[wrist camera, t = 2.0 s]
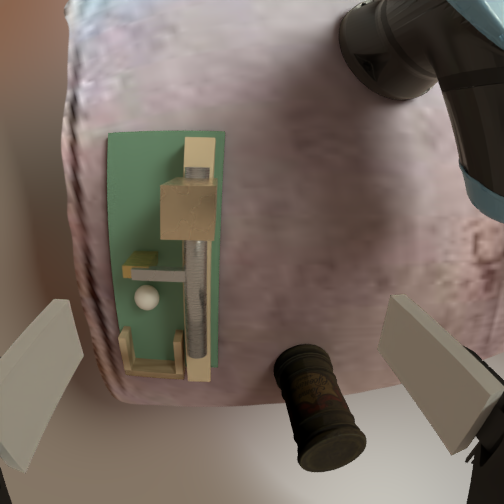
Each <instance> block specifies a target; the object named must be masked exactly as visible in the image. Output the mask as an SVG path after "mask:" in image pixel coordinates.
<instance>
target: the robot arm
mask: <svg viewBox="0 0 504 504" xmlns="http://www.w3.org/2000/svg"><path fill="white" fill-rule="evenodd" d="M339 42H340V47H341V51H342V54H343V56H344V58H345V61H346V62H347V64H348V66H349V67H350V69H351V70H352V72H353V73H354V74H355V76H356V77H357V78H358V79H359V80H360V81H361V82H362V83H363V84H364V85H366V86H367V87H368V88H370V89H371V90H372V91H374V92H376V93H378V94H379V95H382V96H384V97H387V98H390V99H396V100H406V99H411V98H415V97H419V96H421V95H423V94H425V93H427V92H428V91H429V90H430V89H431V88H432V87H433V86H434V85H435V84H436V83H437V82H439V85H440V88H441V91H442V95H443V98H444V101H445V104H446V107H447V111H448V114H449V117H450V121H451V125H452V128H453V132H454V136H455V140H456V145H457V149H458V154H459V167H460V169H461V171H462V173H463V177H464V181H465V186H466V191H467V195H468V197H469V199H470V201H471V202H472V204H473V205H474V206H475V207H476V208H477V209H479V210H480V212H481V213H483V214H484V215H486V216H488V217H489V218H491V219H494V220H496V221H498V222H501V223H504V0H367V1H364V2H362V3H360V4H358V5H356V6H355V7H354V8H352V9H351V10H350V11H349V12H348V13H347V14H346V16H345V17H344V18H343V20H342V22H341V25H340V29H339ZM377 350H378V351H379V352H380V354H381V355H382V356H383V358H384V359H385V360H386V362H387V363H388V365H389V366H390V367H391V369H392V370H393V372H394V373H395V374H396V376H397V377H398V378H399V380H400V381H401V383H402V384H403V385H404V387H405V388H406V390H407V391H408V392H409V394H410V395H411V397H412V398H413V400H414V401H415V402H416V404H417V405H418V407H419V408H420V410H421V411H422V412H423V414H424V415H425V417H426V418H427V420H428V421H429V423H430V424H431V426H432V427H433V429H434V430H435V431H436V433H437V434H438V436H439V437H440V439H441V440H442V442H443V443H444V445H445V446H446V448H447V449H448V451H449V452H450V454H451V455H454V454H455V453H458V452H460V451H462V450H464V449H466V448H467V447H468V446H469V445H470V443H471V442H472V440H473V439H474V437H475V436H476V437H477V438H478V440H479V442H478V444H477V445H476V446H475V448H474V449H473V450H472V451H471V453H470V454H469V456H468V457H467V458H466V461H465V462H468V461H469V460H470V459H471V458H472V456H473V455H474V460H473V461H472V462H471V463H472V464H473V470H472V477H471V483H470V489H469V494H468V499H467V504H504V380H503V379H502V378H501V377H500V376H499V375H498V374H497V373H496V372H495V371H494V370H493V369H491V368H490V367H488V365H487V364H486V363H485V362H484V361H482V359H481V358H480V357H479V356H478V355H477V354H476V353H475V352H474V351H472V350H470V349H468V348H467V347H465V346H462V345H461V344H460V343H459V342H458V341H457V340H456V339H455V338H454V337H453V336H451V335H450V334H449V333H448V332H447V331H446V330H445V329H444V328H443V327H442V326H440V325H439V324H438V323H437V322H436V321H435V320H434V319H433V318H432V317H430V316H429V315H428V314H427V313H426V312H425V311H424V310H422V309H421V308H420V307H419V306H418V305H417V304H416V303H414V302H413V301H412V300H411V299H410V298H409V297H407V296H406V295H405V294H401V295H390V299H389V304H388V308H387V313H386V317H385V321H384V325H383V329H382V333H381V337H380V341H379V345H378V348H377ZM83 356H84V355H83V351H82V348H81V344H80V341H79V337H78V334H77V330H76V326H75V323H74V319H73V314H72V311H71V306H70V302H69V300H64V299H54V300H53V301H52V302H51V303H50V304H49V305H48V306H47V307H46V308H45V309H44V310H43V311H42V312H41V313H40V314H39V315H38V316H37V318H36V319H35V320H34V321H33V322H32V323H31V324H30V325H29V326H28V327H27V328H26V329H25V331H24V332H23V333H22V334H21V335H20V336H19V337H18V339H17V340H16V341H15V342H14V343H13V344H12V345H11V347H10V348H9V349H8V350H7V351H6V352H5V354H4V355H3V356H2V357H0V457H1V458H2V459H3V461H4V462H5V463H6V464H7V465H8V466H9V467H11V468H14V469H16V470H18V471H21V472H23V473H26V472H27V469H28V467H29V464H30V462H31V459H32V457H33V455H34V453H35V451H36V448H37V446H38V444H39V442H40V439H41V437H42V435H43V433H44V431H45V429H46V427H47V424H48V423H49V420H50V418H51V416H52V414H53V412H54V410H55V408H56V406H57V404H58V402H59V401H60V399H61V397H62V395H63V393H64V391H65V389H66V387H67V385H68V383H69V382H70V380H71V378H72V376H73V374H74V372H75V370H76V369H77V367H78V365H79V363H80V362H81V360H82V358H83ZM0 504H12V502H11V499H10V496H9V494H8V490H7V487H6V484H5V481H4V478H3V475H2V471H1V468H0Z"/></svg>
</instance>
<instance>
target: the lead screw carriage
mask: <svg viewBox="0 0 504 504" xmlns="http://www.w3.org/2000/svg"><path fill="white" fill-rule="evenodd" d="M209 176H210V167H185V177H176V178H174V179H172V180H170V181H168V182H166V183H164V184H162V185H160V240H184V267H164V266H157V264H158V251H134V252H133V253H132V254H131V256H130V257H129V258H128V259H127V260H126V262H125V263H124V264H123V265H122V270H123V278H132V280H141V281H164V282H184V299H185V325H186V344H187V355H188V356H189V357H191V358H194V359H200V358H203V357H205V356H206V355H207V241H214V238H215V225H216V207H217V184H218V178H209Z"/></svg>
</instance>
